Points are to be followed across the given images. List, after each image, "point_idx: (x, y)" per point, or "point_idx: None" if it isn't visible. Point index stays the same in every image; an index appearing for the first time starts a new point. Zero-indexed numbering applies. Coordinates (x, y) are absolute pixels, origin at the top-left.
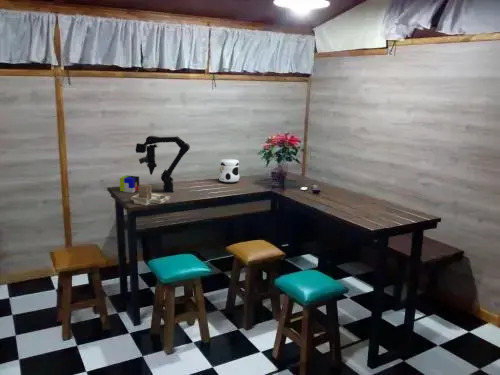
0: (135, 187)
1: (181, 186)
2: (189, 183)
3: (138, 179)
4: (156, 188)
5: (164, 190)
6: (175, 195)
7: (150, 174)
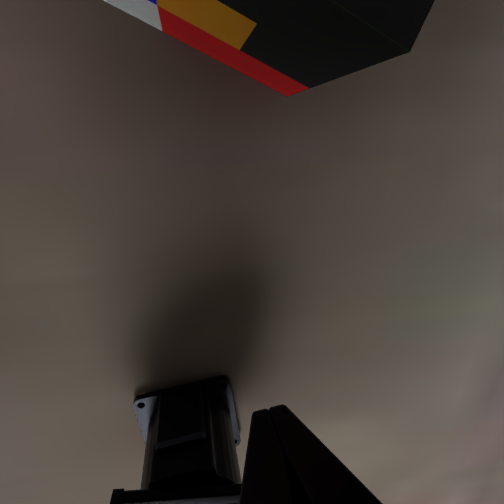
0: (176, 17)
1: (374, 471)
2: (455, 496)
3: (339, 52)
4: (329, 297)
5: (157, 403)
6: (17, 496)
7: (251, 420)
